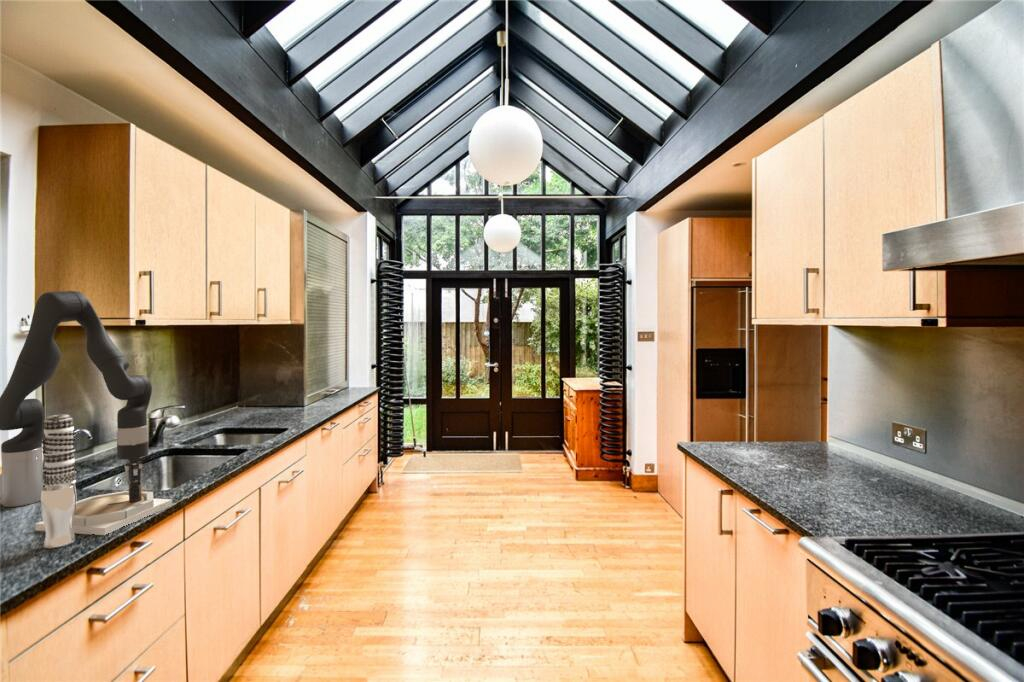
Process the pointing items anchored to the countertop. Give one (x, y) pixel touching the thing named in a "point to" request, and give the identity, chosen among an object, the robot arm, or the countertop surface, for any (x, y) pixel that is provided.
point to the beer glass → (58, 514)
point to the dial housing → (115, 515)
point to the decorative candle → (59, 450)
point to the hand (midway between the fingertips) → (134, 497)
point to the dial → (108, 504)
